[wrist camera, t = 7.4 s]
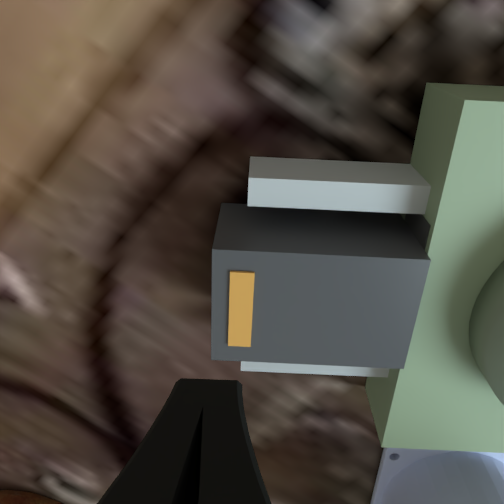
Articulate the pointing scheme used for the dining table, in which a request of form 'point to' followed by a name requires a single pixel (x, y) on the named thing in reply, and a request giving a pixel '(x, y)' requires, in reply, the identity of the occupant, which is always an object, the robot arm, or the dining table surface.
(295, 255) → the grey cube with stripe
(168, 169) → the dining table surface
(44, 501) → the bread roll
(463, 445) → the pale green flat block
